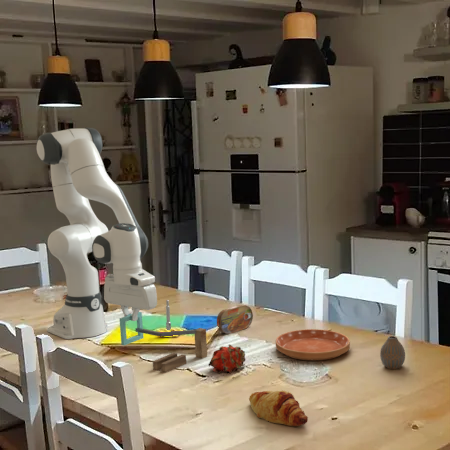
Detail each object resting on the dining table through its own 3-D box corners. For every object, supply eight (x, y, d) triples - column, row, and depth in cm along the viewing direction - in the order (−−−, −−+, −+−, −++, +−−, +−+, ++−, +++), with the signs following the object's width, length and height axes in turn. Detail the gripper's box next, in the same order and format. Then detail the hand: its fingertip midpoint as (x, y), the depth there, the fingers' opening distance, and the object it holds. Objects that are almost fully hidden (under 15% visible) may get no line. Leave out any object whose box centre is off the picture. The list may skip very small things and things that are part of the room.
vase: (406, 363, 200) (406, 334, 198) (404, 371, 193) (404, 341, 192) (381, 361, 202) (381, 332, 201) (379, 370, 195) (378, 340, 194)
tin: (221, 336, 233) (220, 312, 232) (215, 334, 236) (214, 310, 235) (254, 326, 243) (253, 303, 242) (247, 325, 246) (246, 301, 244)
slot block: (153, 372, 201) (152, 361, 201) (174, 363, 208) (173, 352, 208) (165, 376, 198) (165, 364, 198) (186, 366, 205) (185, 355, 205)
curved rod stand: (137, 358, 215) (135, 328, 214) (162, 347, 224) (161, 319, 223) (188, 370, 202) (186, 338, 201) (213, 358, 211) (211, 328, 210)
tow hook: (162, 331, 244) (156, 337, 235) (161, 295, 243) (154, 300, 234) (186, 331, 243) (180, 338, 234) (184, 295, 242) (179, 300, 233)
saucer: (364, 348, 215) (364, 336, 215) (321, 369, 199) (321, 356, 198) (305, 335, 231) (304, 325, 230) (260, 354, 214) (260, 342, 214)
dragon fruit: (250, 373, 201) (213, 387, 197) (236, 351, 207) (200, 364, 202) (254, 356, 196) (216, 370, 191) (240, 334, 201) (203, 347, 196)
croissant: (242, 419, 175) (229, 396, 172) (268, 392, 180) (256, 369, 177) (299, 446, 158) (285, 421, 155) (326, 415, 163) (313, 391, 160)
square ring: (121, 344, 213) (119, 318, 212) (140, 337, 220) (138, 311, 218) (124, 345, 212) (122, 318, 211) (143, 338, 219) (141, 312, 218)
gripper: (97, 275, 217) (100, 317, 219) (144, 281, 204) (147, 326, 206) (112, 271, 222) (115, 313, 224) (158, 277, 209) (161, 321, 211)
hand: (131, 319), depth 215 cm, fingers closed on square ring, 1 cm apart
